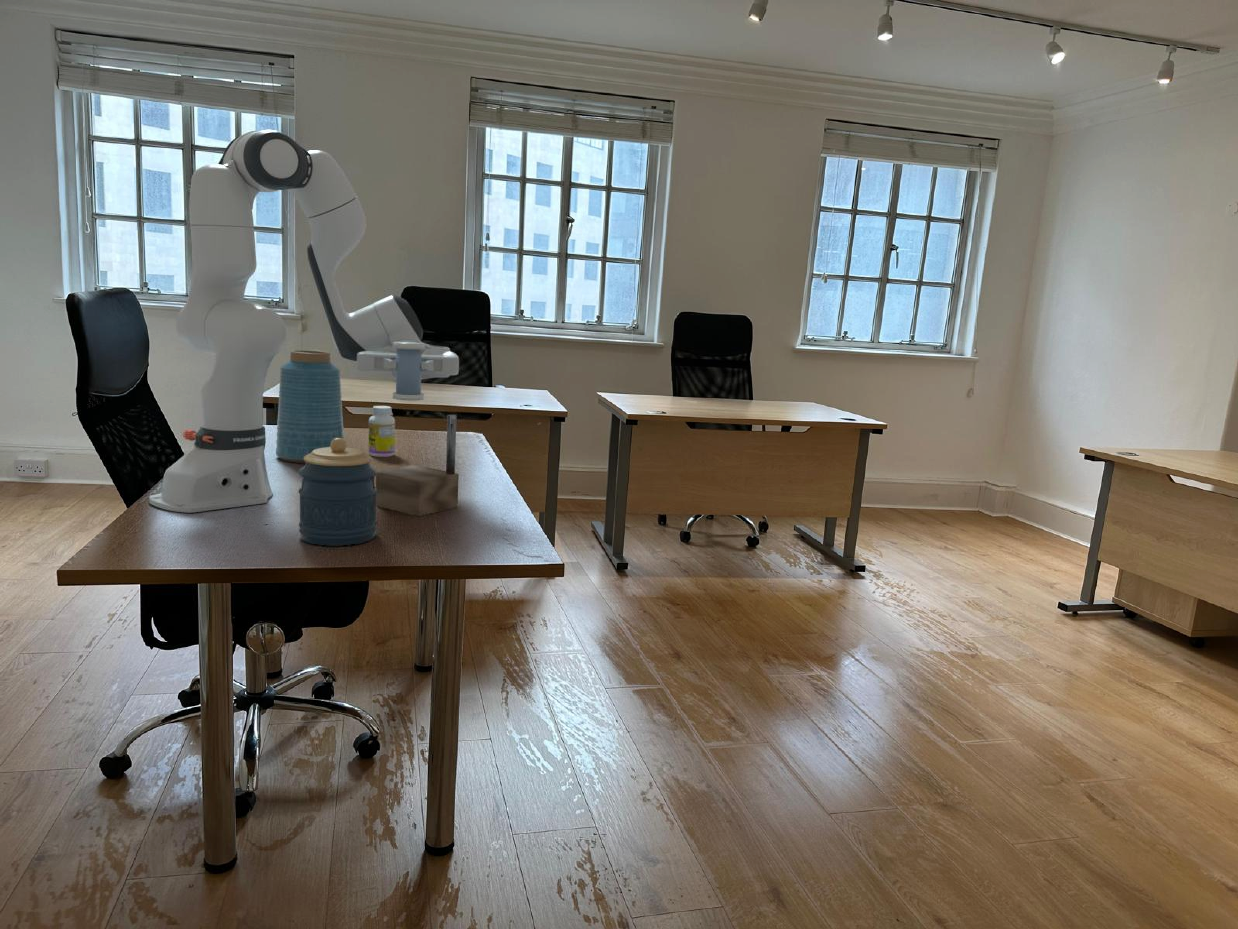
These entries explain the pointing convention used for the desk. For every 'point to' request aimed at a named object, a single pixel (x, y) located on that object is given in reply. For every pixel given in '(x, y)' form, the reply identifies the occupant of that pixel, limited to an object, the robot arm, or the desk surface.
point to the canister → (337, 496)
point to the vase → (308, 405)
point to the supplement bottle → (381, 432)
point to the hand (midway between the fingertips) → (408, 366)
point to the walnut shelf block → (416, 490)
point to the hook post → (451, 444)
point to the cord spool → (408, 371)
